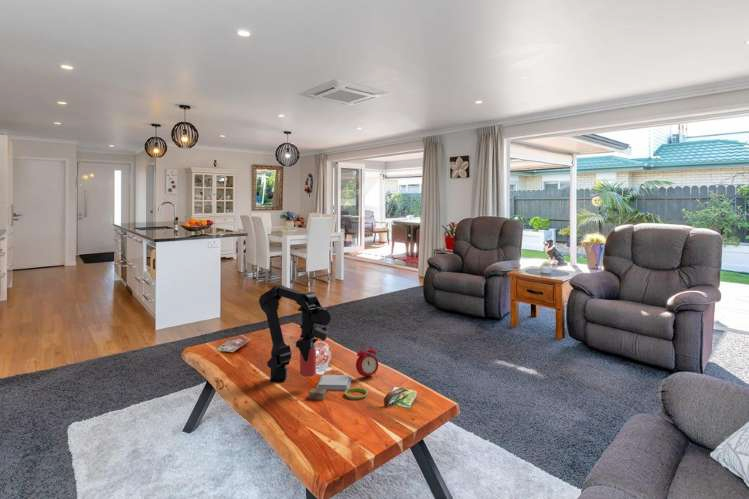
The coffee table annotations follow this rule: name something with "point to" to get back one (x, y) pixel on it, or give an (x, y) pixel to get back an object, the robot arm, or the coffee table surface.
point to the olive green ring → (355, 391)
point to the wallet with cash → (393, 395)
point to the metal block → (317, 394)
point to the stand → (334, 382)
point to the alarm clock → (366, 362)
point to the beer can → (308, 363)
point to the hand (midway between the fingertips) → (308, 358)
